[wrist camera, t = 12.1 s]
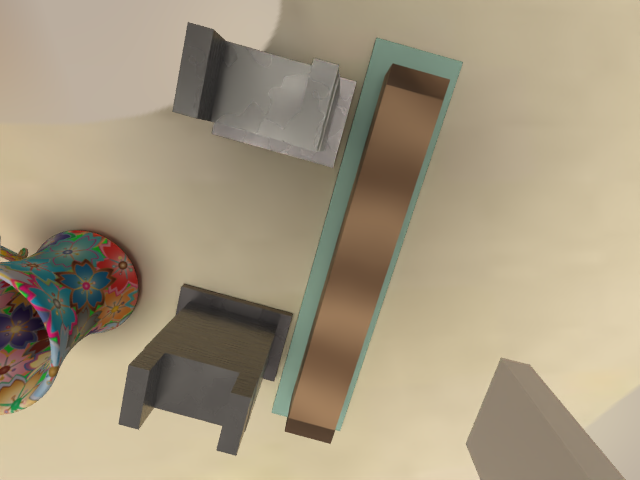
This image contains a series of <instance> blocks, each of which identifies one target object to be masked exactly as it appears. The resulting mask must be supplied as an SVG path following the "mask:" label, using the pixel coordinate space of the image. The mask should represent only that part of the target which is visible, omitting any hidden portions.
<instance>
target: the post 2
mask: <svg viewBox="0 0 640 480" xmlns="http://www.w3.org/2000/svg"><path fill="white" fill-rule="evenodd" d="M292 315H293V314H292V313H289V312H285V311H281V310H278V309H274V308H270V307H267V306H263V305H259V304H256V303H252V302H248V301H245V300H241V299H237V298H234V297H230V296H227V295H223V294H219V293H216V292H212V291H208V290H205V289H201V288H197V287H194V286H190V285H186V284H184V285H183V286H181V291H180V296H179V301H178V306H177V311H176V316H175V317H174V318H173V319H172V320H171V321H170V322H169V323H168V324H167V325H166V326H165V327H164V328H163V329H162V330H161V331H160V332H159V333H158V334H157V335H156V336H155V338H154V339H153V340H152V341H151V342H150V343H149V344H148V345H147V346H146V347H145V349H144V350H143V351H142V352H141V353H140V354H139V355H138V356H137V357H136V358H135V359H134V360H133V361H132V362H131V363H130V364H129V366H128V372H127V378H126V384H125V390H124V395H123V401H122V407H121V413H120V418H119V424H120V425H123V426H127V427H131V428H135V429H138V430H139V428H140V427H141V425H142V424H143V423H144V421H145V420H146V418H147V417H148V416H149V414H150V413H151V411H152V410H153V409H154V408H158V409H162V410H165V411H169V412H173V413H177V414H180V415H184V416H188V417H191V418H195V419H199V420H203V421H206V422H210V423H214V424H217V425H221V426H222V430H221V434H220V438H219V442H218V446H217V451H220V452H224V453H228V454H232V455H235V456H236V455H237V452H238V449H239V446H240V443H241V440H242V437H243V434H244V432H245V431H246V428H247V425H248V422H249V419H250V416H251V413H252V410H253V407H254V404H255V401H256V398H257V395H258V392H259V389H260V386H261V383H262V380H263V379H266V380H270V381H274V380H275V376H276V373H277V369H278V365H279V362H280V358H281V354H282V351H283V347H284V344H285V340H286V336H287V333H288V329H289V325H290V322H291V318H292Z"/></svg>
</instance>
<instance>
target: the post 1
mask: <svg viewBox="0 0 640 480" xmlns="http://www.w3.org/2000/svg"><path fill="white" fill-rule="evenodd" d="M356 83H357V82H356V81H353V80H349V79H346V78H342V77H340V73H339V65H337V64H334V63H330V62H327V61H323V60H320V59H316V58H313V62H312V65H309V64H305V63H302V62H298V61H295V60H291V59H288V58H284V57H281V56H277V55H274V54H270V53H267V52H263V51H259V50H256V49H252V48H249V47H245V46H242V45H238V44H234V43H231V42H227V41H225V40H224V39H223V38H222V37H221V36H220V35H219V34H218V33H217V32H216V31H215V30H213V29H210V28H207V27H203V26H200V25H196V24H193V23H189V22H188V25H187V30H186V36H185V43H184V48H183V54H182V59H181V65H180V71H179V77H178V83H177V88H176V94H175V100H174V106H173V111H172V112H175V113H179V114H183V115H186V116H190V117H193V118H197V119H202V120H207V121H211V122H214V124H213V129H212V134H214V135H217V136H221V137H225V138H228V139H232V140H235V141H239V142H242V143H246V144H250V145H253V146H257V147H260V148H264V149H267V150H271V151H275V152H278V153H282V154H285V155H289V156H292V157H296V158H300V159H303V160H307V161H310V162H314V163H318V164H321V165H325V166H328V167H332V168H333V166H334V162H335V159H336V155H337V152H338V148H339V144H340V141H341V137H342V133H343V130H344V126H345V123H346V119H347V115H348V112H349V108H350V104H351V101H352V97H353V94H354V90H355V86H356Z"/></svg>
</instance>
